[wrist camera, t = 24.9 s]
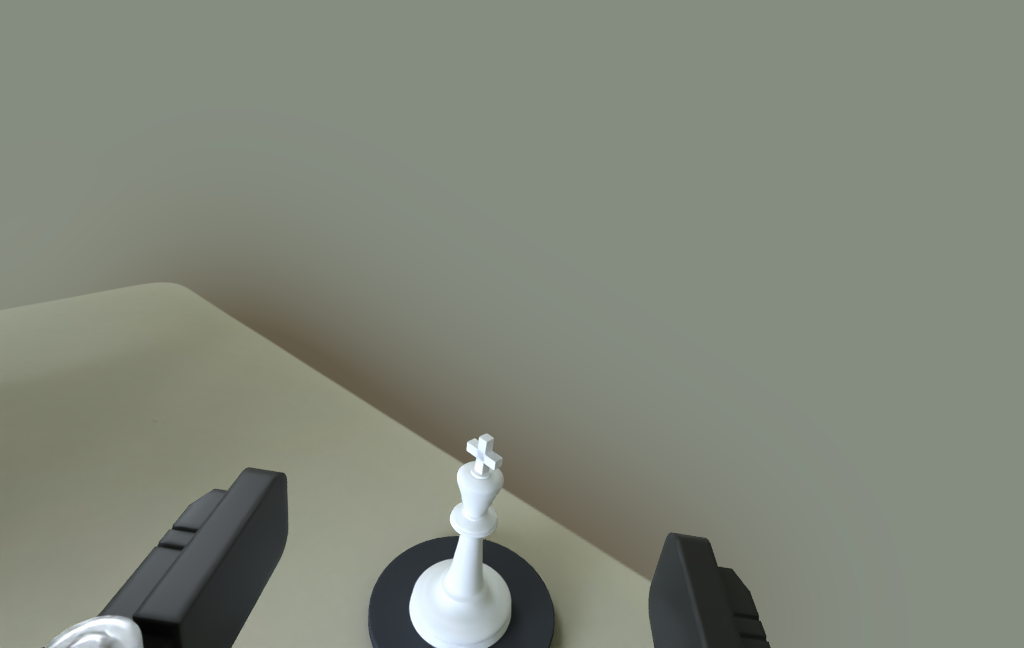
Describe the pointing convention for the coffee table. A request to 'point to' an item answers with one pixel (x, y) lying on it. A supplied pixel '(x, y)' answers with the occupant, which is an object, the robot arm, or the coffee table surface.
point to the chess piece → (466, 566)
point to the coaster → (393, 589)
